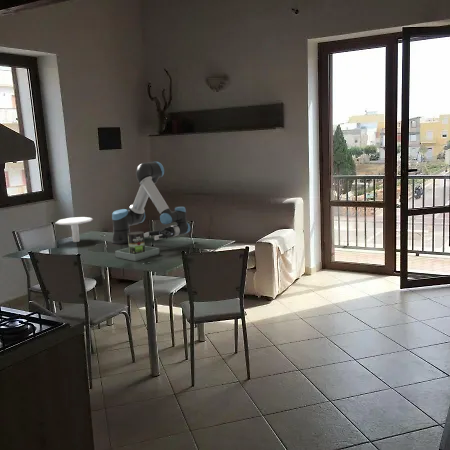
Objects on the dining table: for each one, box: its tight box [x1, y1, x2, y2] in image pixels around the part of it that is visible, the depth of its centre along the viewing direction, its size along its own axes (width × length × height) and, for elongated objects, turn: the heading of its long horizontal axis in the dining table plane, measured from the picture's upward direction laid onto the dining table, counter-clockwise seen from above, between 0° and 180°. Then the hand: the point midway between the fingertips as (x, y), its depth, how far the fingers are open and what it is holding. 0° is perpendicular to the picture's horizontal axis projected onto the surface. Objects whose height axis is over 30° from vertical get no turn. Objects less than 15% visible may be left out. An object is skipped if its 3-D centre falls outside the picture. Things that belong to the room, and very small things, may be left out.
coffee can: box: [128, 230, 146, 254], centre depth 312 cm, size 10×10×14 cm
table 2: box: [54, 216, 94, 243], centre depth 367 cm, size 28×28×17 cm
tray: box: [114, 245, 160, 262], centre depth 313 cm, size 20×20×4 cm
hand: (147, 237), depth 319 cm, fingers open, 13 cm apart
